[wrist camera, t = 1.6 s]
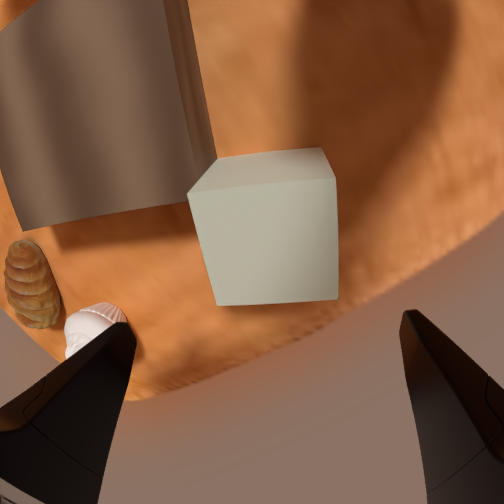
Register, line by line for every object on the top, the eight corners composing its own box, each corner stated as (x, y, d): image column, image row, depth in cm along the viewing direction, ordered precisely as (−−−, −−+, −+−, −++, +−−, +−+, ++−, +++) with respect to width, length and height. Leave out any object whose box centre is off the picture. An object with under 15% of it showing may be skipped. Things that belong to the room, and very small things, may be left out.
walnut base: (180, -38, 11) (154, -61, 7) (220, 174, 18) (203, 199, 14) (16, 47, 13) (-22, 52, 10) (54, 207, 20) (22, 231, 17)
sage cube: (321, 146, 16) (335, 177, 11) (327, 238, 19) (338, 299, 14) (218, 158, 17) (187, 193, 12) (235, 246, 20) (217, 305, 15)
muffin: (154, 327, 26) (125, 390, 20) (117, 344, 28) (90, 398, 22) (105, 277, 23) (62, 336, 17) (74, 302, 26) (37, 353, 20)
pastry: (8, 227, 22) (-17, 247, 19) (56, 245, 23) (31, 269, 19) (24, 297, 27) (6, 319, 24) (68, 318, 28) (51, 343, 24)
